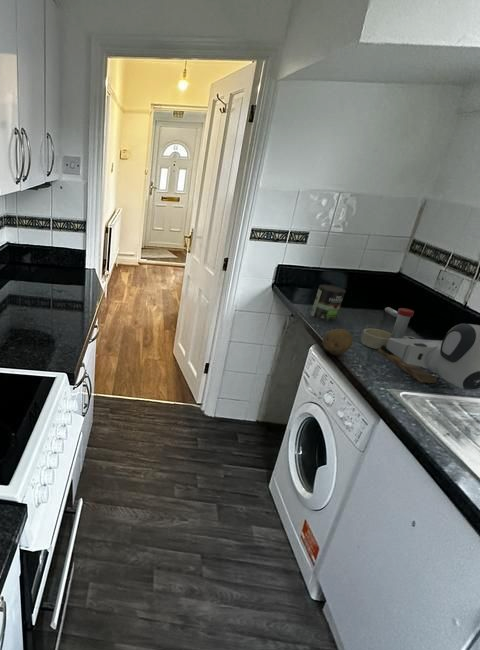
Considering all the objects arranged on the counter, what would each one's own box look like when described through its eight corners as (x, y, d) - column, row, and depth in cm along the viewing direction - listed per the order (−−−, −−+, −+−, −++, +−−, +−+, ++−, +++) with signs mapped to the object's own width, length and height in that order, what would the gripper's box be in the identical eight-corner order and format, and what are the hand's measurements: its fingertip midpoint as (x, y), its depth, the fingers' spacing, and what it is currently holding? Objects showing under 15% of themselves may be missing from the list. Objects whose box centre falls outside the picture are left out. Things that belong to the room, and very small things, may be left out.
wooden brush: (435, 383, 132) (437, 379, 131) (420, 382, 132) (421, 378, 131) (391, 352, 152) (392, 348, 151) (377, 351, 152) (378, 347, 151)
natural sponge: (331, 361, 142) (340, 335, 138) (312, 349, 150) (321, 324, 146) (352, 359, 145) (362, 334, 140) (333, 348, 152) (341, 323, 148)
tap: (401, 355, 147) (417, 312, 140) (388, 354, 147) (404, 312, 140) (381, 341, 157) (395, 301, 151) (369, 340, 157) (382, 300, 151)
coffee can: (340, 323, 179) (351, 292, 172) (320, 323, 176) (330, 292, 170) (324, 313, 188) (334, 284, 182) (304, 314, 186) (313, 284, 179)
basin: (390, 344, 159) (395, 332, 157) (391, 354, 151) (396, 341, 149) (360, 338, 163) (364, 326, 161) (359, 346, 155) (363, 334, 153)
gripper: (473, 348, 128) (440, 331, 140) (407, 345, 128) (380, 328, 140) (465, 366, 130) (433, 348, 143) (400, 363, 130) (374, 344, 143)
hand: (406, 338), depth 142 cm, fingers closed
